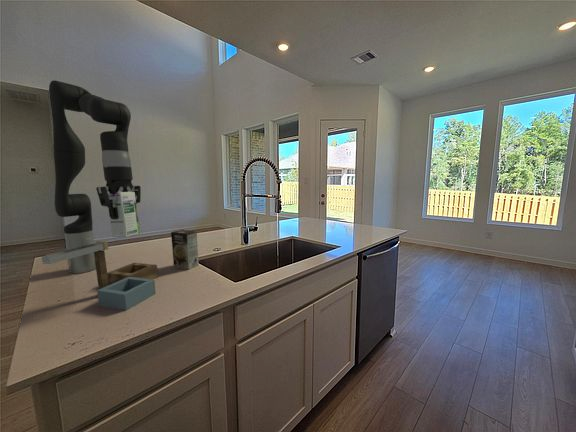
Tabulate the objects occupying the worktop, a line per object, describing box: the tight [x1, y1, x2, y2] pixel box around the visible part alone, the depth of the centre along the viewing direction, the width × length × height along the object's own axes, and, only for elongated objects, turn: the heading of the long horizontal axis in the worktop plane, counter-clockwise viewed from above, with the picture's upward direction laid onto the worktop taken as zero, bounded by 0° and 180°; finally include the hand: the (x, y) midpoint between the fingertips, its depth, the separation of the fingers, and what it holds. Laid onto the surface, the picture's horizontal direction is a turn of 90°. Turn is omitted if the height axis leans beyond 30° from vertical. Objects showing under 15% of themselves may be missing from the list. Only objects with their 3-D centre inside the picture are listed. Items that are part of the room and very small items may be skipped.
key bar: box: [41, 240, 109, 265], centre depth 74 cm, size 4×16×3 cm, turn 164°
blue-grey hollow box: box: [96, 277, 157, 311], centre depth 79 cm, size 11×11×5 cm
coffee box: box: [170, 229, 199, 270], centre depth 108 cm, size 9×6×16 cm
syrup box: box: [107, 191, 141, 238], centre depth 80 cm, size 6×6×14 cm
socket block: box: [94, 250, 159, 290], centre depth 89 cm, size 12×18×15 cm, turn 164°
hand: (123, 217), depth 80 cm, fingers closed on syrup box, 6 cm apart
